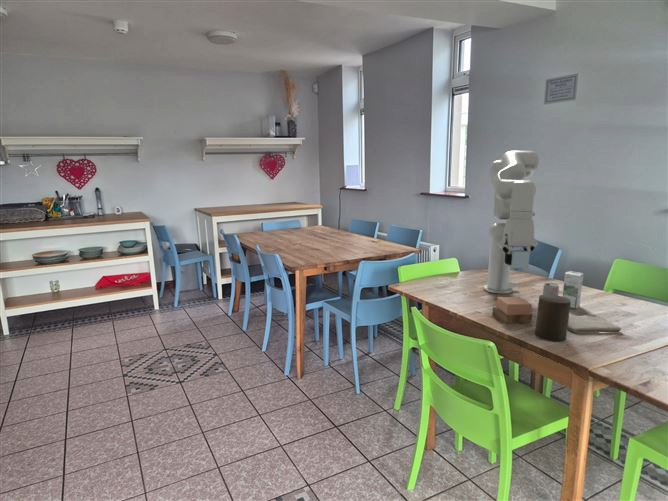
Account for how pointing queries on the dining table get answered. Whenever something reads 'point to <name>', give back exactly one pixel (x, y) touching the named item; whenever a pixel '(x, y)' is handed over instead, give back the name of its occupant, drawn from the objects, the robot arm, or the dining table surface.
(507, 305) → the terracotta block
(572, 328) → the washcloth
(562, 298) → the pillar candle
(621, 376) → the dining table surface
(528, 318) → the walnut base block
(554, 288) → the energy drink
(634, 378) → the dining table surface
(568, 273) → the syrup box
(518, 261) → the blue-grey cube
